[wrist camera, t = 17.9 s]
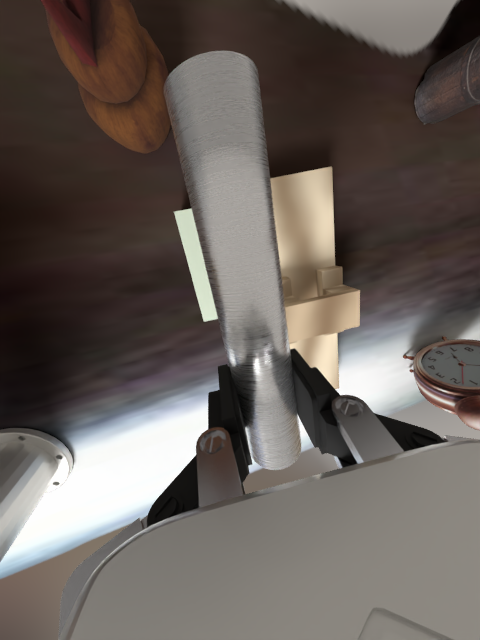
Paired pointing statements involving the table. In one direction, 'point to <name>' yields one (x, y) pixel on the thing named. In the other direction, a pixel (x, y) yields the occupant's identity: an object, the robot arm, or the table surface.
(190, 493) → the robot arm
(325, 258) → the maple beam
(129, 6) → the wooden figurine
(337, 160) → the table surface
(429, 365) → the alarm clock
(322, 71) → the table surface
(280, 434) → the steel axle
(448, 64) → the butter churn
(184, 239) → the block
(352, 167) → the table surface
